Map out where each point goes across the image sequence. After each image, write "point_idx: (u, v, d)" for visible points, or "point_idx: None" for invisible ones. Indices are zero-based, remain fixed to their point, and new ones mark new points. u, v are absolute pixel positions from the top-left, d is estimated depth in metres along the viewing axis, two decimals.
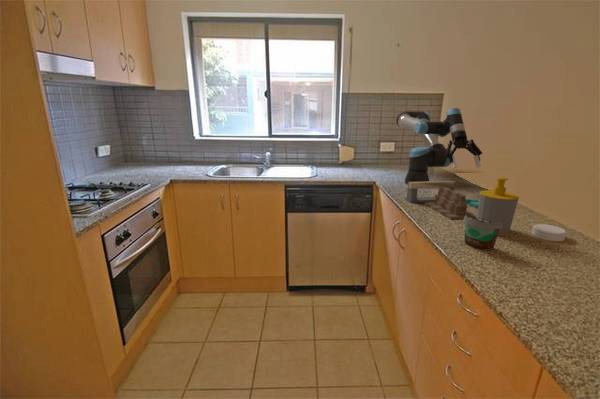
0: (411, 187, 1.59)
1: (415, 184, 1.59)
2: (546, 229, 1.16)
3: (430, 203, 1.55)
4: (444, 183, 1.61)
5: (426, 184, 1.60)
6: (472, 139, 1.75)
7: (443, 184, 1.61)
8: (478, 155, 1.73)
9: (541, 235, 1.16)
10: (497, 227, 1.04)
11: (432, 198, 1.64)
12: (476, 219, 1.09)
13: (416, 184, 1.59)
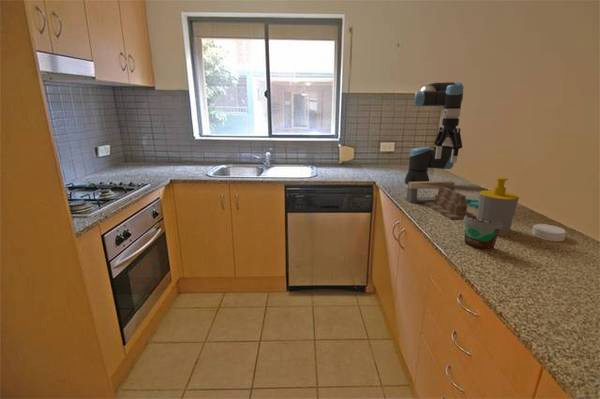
0: (411, 187, 1.59)
1: (415, 184, 1.59)
2: (546, 229, 1.16)
3: (430, 203, 1.55)
4: (444, 183, 1.61)
5: (426, 184, 1.60)
6: (455, 128, 1.49)
7: (443, 184, 1.61)
8: (455, 149, 1.50)
9: (541, 235, 1.16)
10: (497, 227, 1.04)
11: (432, 198, 1.64)
12: (476, 219, 1.09)
13: (416, 184, 1.59)
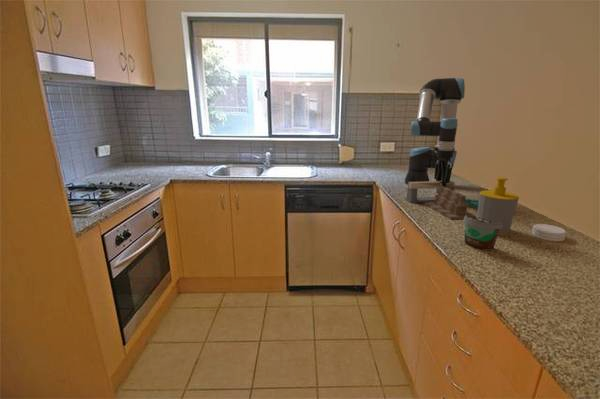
0: (411, 187, 1.59)
1: (415, 184, 1.59)
2: (546, 229, 1.16)
3: (430, 203, 1.55)
4: None
5: (426, 184, 1.60)
6: (448, 165, 1.53)
7: None
8: (442, 183, 1.60)
9: (541, 235, 1.16)
10: (497, 227, 1.04)
11: (432, 198, 1.64)
12: (476, 219, 1.09)
13: (416, 184, 1.59)
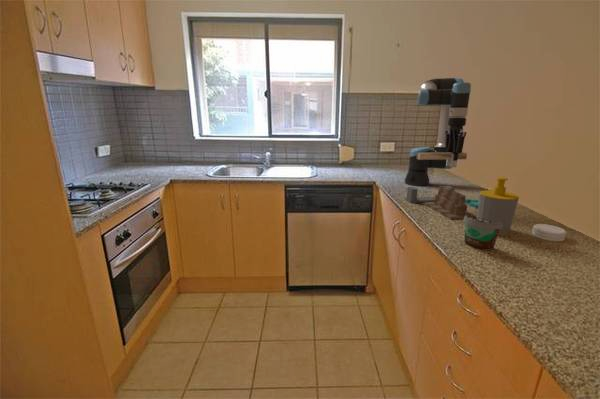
0: (420, 158, 1.48)
1: (425, 154, 1.48)
2: (546, 229, 1.16)
3: (430, 203, 1.55)
4: None
5: (436, 155, 1.49)
6: (461, 132, 1.42)
7: None
8: (454, 153, 1.49)
9: (541, 235, 1.16)
10: (497, 227, 1.04)
11: (432, 198, 1.64)
12: (476, 219, 1.09)
13: (426, 154, 1.48)
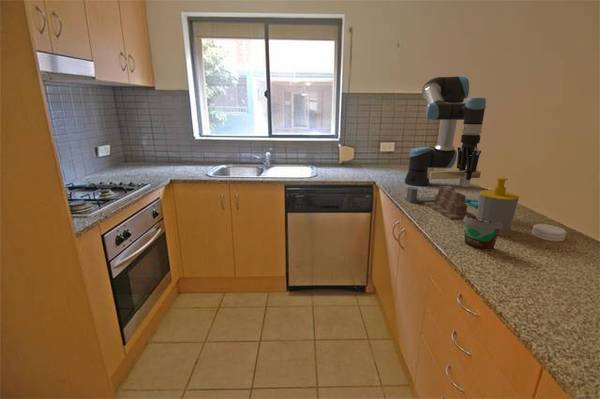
0: (431, 177, 1.40)
1: (436, 173, 1.39)
2: (546, 229, 1.16)
3: (430, 203, 1.55)
4: None
5: (449, 174, 1.40)
6: (475, 151, 1.33)
7: None
8: None
9: (541, 235, 1.16)
10: (497, 227, 1.04)
11: (432, 198, 1.64)
12: (476, 219, 1.09)
13: (437, 174, 1.39)
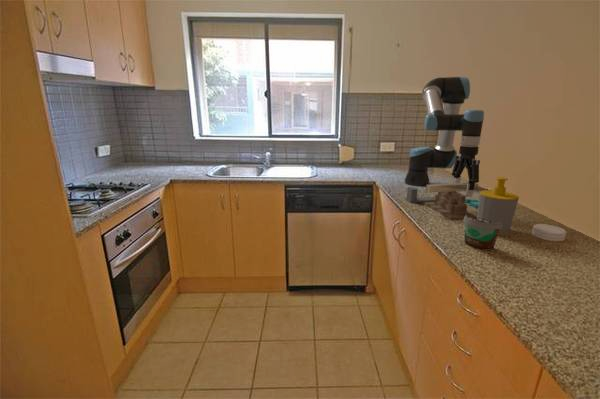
0: (430, 190, 1.42)
1: (435, 186, 1.41)
2: (546, 229, 1.16)
3: (430, 203, 1.55)
4: None
5: (447, 187, 1.42)
6: (474, 160, 1.34)
7: (465, 187, 1.43)
8: (470, 183, 1.38)
9: (541, 235, 1.16)
10: (497, 227, 1.04)
11: (432, 198, 1.64)
12: (476, 219, 1.09)
13: (435, 187, 1.41)
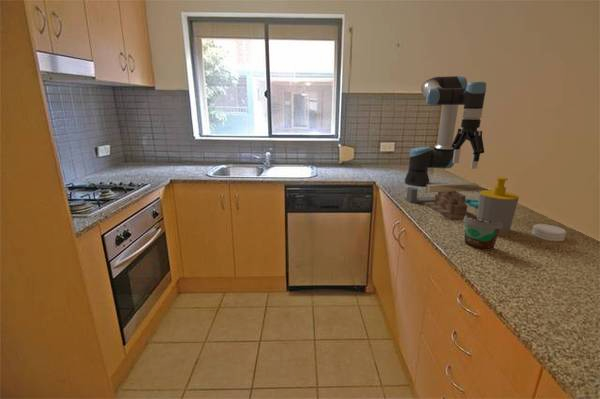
0: (430, 190, 1.41)
1: (435, 186, 1.41)
2: (546, 229, 1.16)
3: (430, 203, 1.55)
4: (467, 186, 1.43)
5: (447, 187, 1.42)
6: (476, 131, 1.34)
7: (465, 187, 1.43)
8: (476, 154, 1.35)
9: (541, 235, 1.16)
10: (497, 227, 1.04)
11: (432, 198, 1.64)
12: (476, 219, 1.09)
13: (435, 187, 1.41)
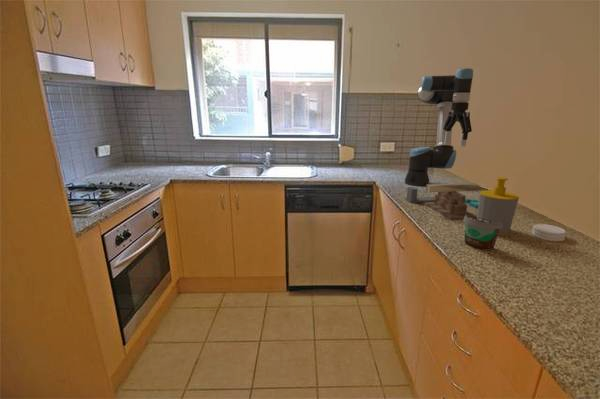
0: (430, 190, 1.41)
1: (435, 186, 1.41)
2: (546, 229, 1.16)
3: (430, 203, 1.55)
4: (467, 186, 1.43)
5: (447, 187, 1.42)
6: (464, 112, 1.50)
7: (465, 187, 1.43)
8: (464, 133, 1.51)
9: (541, 235, 1.15)
10: (497, 227, 1.04)
11: (432, 198, 1.64)
12: (476, 219, 1.09)
13: (435, 187, 1.41)
